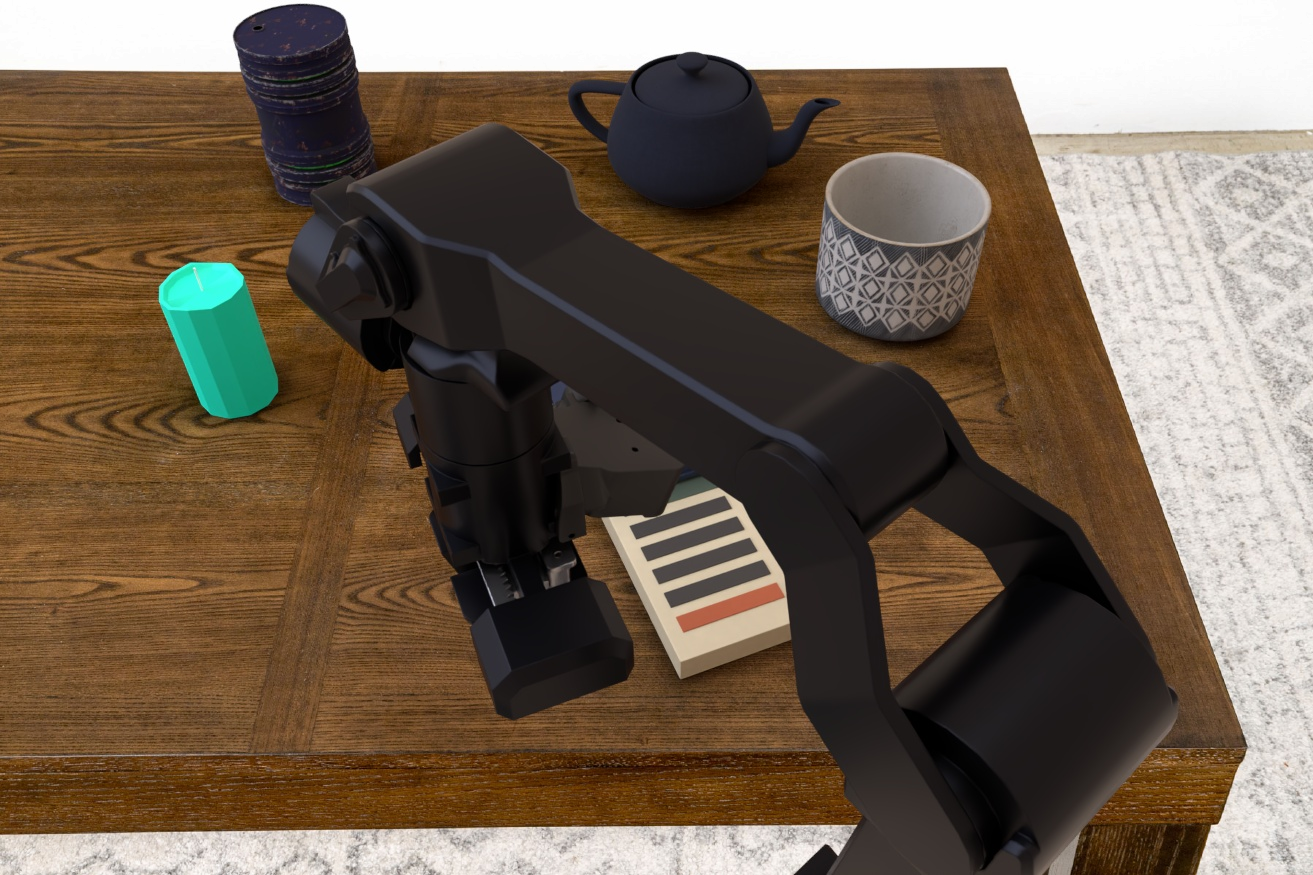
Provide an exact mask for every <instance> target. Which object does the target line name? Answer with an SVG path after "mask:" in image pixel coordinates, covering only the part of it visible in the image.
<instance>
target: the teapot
mask: <svg viewBox="0 0 1313 875" xmlns="http://www.w3.org/2000/svg"><path fill="white" fill-rule="evenodd" d="M591 93H592V94H603V95H612V96H618V97H619V99H618V101H617V102H616V105H615V108H614V110H613V112H612V116H611V119H610V122H609V128H607V127H606V126H605V125H603V124H602V123H601V122H600V121H599V120H597V119H596V117H594V116H593V114H592V113H591V112H590V111H589V109H588V108H587V106H586V104H585V102H584V98H583V96H582V95H583V94H591ZM764 99H765V98H764V96H763V93H762V92H761V90H760V88H759V86H758V83H757V81H756V80H755V77H754V76H753V74H751V72H750V71H749V70H747V68H745V67H744V66H742V65H741V64H740V63H738V62H736V61H734V60H731V59H728V58H726V57H722V56H718V55H715V54H714V55H713V54H707V53H702V52H698V51H685V52H682V53H675V54H668V55H664V56H660V57H657V58H654V59H652V60H649V61H648V62H646V63H643V64H642V65H640V66H639V67H638V68H637V69H635V71H634V72H633V73H632V74H631V75H630V77H629V78H628V80H627V82H625V81H624V82H623V81H617V80H616V81H615V80H604V79H581V80H578V81H576V82H574V83H572V85H571V86H570V87H569V89H568V93H567V100H568V101H567V102H568V105H569V108H570V111H571V112H572V114H573V116H574V117H575V120H577V121H578V123H579V124H580V125H581V126H582V127H583V128H584V129H585V130H586V131H587V132H589V133H590V134H591V135H592V136H593V137H595V138H597V139H598V140H599V141H601V142H603V143H604V144H606V151H607V157H608V161H609V163H610V165H611V168H612V170H613V171H614V173H615V175H617V176H618V178H619V179H620V180H621V181H622V182H623V183H624V184H625V185H626V186H628V187H629V188H630V189H632V190H633V191H634V192H636V193H638V194H640V195H641V196H643V197H644V198H646V199H647V200H650V201H652V202H654V203H656V204H658V205H661V206H662V205H663V206H666V207H672V208H677V209H695V210H696V209H705V208H711V207H716V206H719V205H723V204H725V203H728V202H730V201H733V200H734V199H736V198H737V197H739V196H740V195H742V194H744V193H746V192H748V191H749V190H750V189H752V188H753V187H754V186H756V184H758V183H759V182H760V181H761V180H762V179H763V178H764V176H765V175H766V174H767V172H768V170H769V169H773V168H777V167H780V166H783V165H784V164H786V163H788V162H789V161H790V160H792V158H794V157H795V155H796V154H797V153H798V152H799V150H800V148H801V146H802V144H803V142H804V140H805V138H806V137H807V136H806V135H807V133H808V131H809V129H810V127H811V125H812V123H813V121H814V120H815V118H816V117H817V116H818V115H819V114H821V113H822V112H824V111H826V110H828V109H831V108H835V107H838V106H840V105H841V104H842V102H841V100H839V99H835V98H830V97H815V98H811V99H809V100H808V101H806V102H805V103H804V104H803V105H802V106H801V107H800V108H799V110H798V112H797V113H796V115H795V118H794V120H793V122H792V123H791V124H790V126H788V127H787V128H785V129H780V130H774V125H773V120H772V117H771V115H770V112H769V108H768V106H767V104H766V101H765V100H764Z"/></svg>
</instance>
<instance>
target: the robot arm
mask: <svg viewBox="0 0 1313 875" xmlns="http://www.w3.org/2000/svg"><path fill="white" fill-rule="evenodd" d="M310 197H311V201H312V204H313V207H312V209H313V211H314V213H313V215H311V216H310V217H309V219H308V220H307V221H306V222H305V223H304V224H303V226H302V227H301V228H300V229H299V231H298V233H297V234H296V237H295V239H294V240H293V242H292V245H291V247H290V248H291V249H290V251H289V255H288V262H287V263H288V264H287V267H286V268H285V275H286V280H287V283H288V285H289V287H290V289H291V291H292V293H293V294H294V295H295V296H296V298H298V299H299V300H300V301H301V302H302V303H303V304H304V305H305V306H306V307H307V308H308V309H310V310H311V311H312V313H314V314H315V315H316V317H318V318H319V319H320V320H322V321H323V322H324V323H325V324H326V325H327V327H329V328H330V329H331V330H333V331H334V332H335V333H336V334H337V335H338V336H339V337H340V338H341V339H342V340H343V341H344V342H346V343H347V345H349V346H350V347H351V348H352V349H353V350H354V351H355V352H356V353H358V354H359V356H361V357H362V358H363V359H364V360H365V361H367V363H368V364H369V365H371V366H372V367H373V368H374V369H375V370H377V371H379V372H380V373H385V372H388V371H389V370H390V371H393V370H402V369H403V370H404V374H405V378H406V383H407V386H408V391H406V392H405V394H404V395H403V396H401V399H400V400H399V401H398V402H397V403H396V404H395V406H394V407H393V408H392V409H391V411H392V417H393V420H394V423H395V429H396V432H397V437H398V439H399V442H400V444H401V447H402V450H403V453H404V457H405V459H406V461H407V464H408V467H409V469H410V470H414V469H416V468H421V467H423V466H424V464H425V468H426V473H427V476H426V477H424V478H423V480H424V485H425V488H426V493H427V496H428V498H429V501H430V505H431V506H432V510H431V511H430V512H429V515H428V521H429V524H430V526H431V529H432V532H433V535H434V537H435V540H436V543H437V546H438V549H439V552H440V554H441V556H442V557H443V558H444V559H445V561H446V562H447V563H448V564H449V565H450V566H451V568H452V569H453V570H454V571H455V572H456V573H457V574H454V575H451V576H449V580H450V583H451V585H452V588H453V591H454V595H455V597H456V599H457V602H458V606H459V609H460V610H461V614H462V616H463V618H464V619H465V620H466V622H467V623H468V624H469V625H470V626H469V632H470V636H471V641H472V645H473V648H474V651H475V655H476V658H477V662H478V665H479V668H480V671H481V673H482V676H483V679H484V682H485V686H486V688H487V691H488V693H489V696H490V699H491V702H492V704H493V708H494V710H495V713H496V715H497V716H500V717H503V718H505V719H508V720H511V721H513V722H514V721H517V720H519V719H523V718H525V717H528V716H531V715H534V714H536V713H539V712H541V711H545V710H548V709H550V708H553V707H557V706H559V705H561V704H564V703H568V702H571V701H573V700H576V699H578V698H582V697H584V696H587V695H589V694H592V693H595V692H598V691H601V690H605V689H606V688H609V687H612V686H615V685H617V684H621V683H623V682H626V681H628V680H629V677H630V675H631V673H632V671H633V669H634V667H635V648H634V647H635V646H634V640H633V637H632V635H631V633H630V632H629V629H628V627H627V625H626V623H625V621H624V619H623V616H622V615H621V611H620V609H619V608H618V606H617V603H616V601H615V600H614V597H613V596H612V595H613V594H612V593H611V591H610V588H609V587H608V585H607V583H606V582H605V581H603V580H598V579H595V578H592V577H589V574H588V571H587V568H586V567H585V564H584V563H583V561H582V559H581V556H580V554H579V552H578V549H577V546H576V545H575V543H574V541H573V540H575V539H579V538H582V537H585V536H587V535H588V532H587V521H586V520H587V519H586V516H587V517H589V518H596V519H602V518H606V517H622V516H637V515H642V516H643V517H645V518H652V517H658V516H660V515H661V514H663V513H664V511H665V508H666V506H667V504H668V502H669V499H670V497H671V495H672V492H673V490H674V488H675V486H676V483H677V481H678V479H679V477H680V474H681V472H682V470H683V467H684V465H686V466H687V467H689V468H690V469H692V470H693V471H695V472H696V473H697V474H699V475H700V476H702V477H703V478H705V479H706V480H708V481H709V482H711V483H712V484H714V485H715V486H717V487H718V488H720V489H721V490H723V491H724V492H726V493H727V494H729V495H730V496H732V497H733V498H735V499H736V500H738V501H739V502H740V503H742V504H743V506H744V508H745V510H746V512H747V514H748V516H749V518H750V520H751V522H752V523H753V525H754V527H755V528H756V530H757V531H758V533H759V535H760V536H761V538H762V539H763V541H764V543H765V544H766V546H767V547H768V549H769V550H770V552H771V554H772V555H773V557H774V558H775V560H776V562H777V563H778V565H779V566H780V568H781V570H782V571H783V574H784V578H785V587H786V596H787V605H788V614H789V623H790V632H791V640H790V641H791V649H792V657H793V658H792V659H793V667H794V675H795V684H796V685H795V686H796V693H797V697H798V700H799V703H800V706H801V709H802V711H803V713H804V714H805V715H806V717H807V719H808V720H809V722H810V723H811V725H812V726H813V728H814V730H815V731H816V733H817V734H818V736H819V738H820V739H821V741H822V742H823V744H824V746H825V747H826V749H827V750H828V752H829V753H830V755H831V757H832V758H833V760H834V762H835V763H836V765H837V766H838V768H839V769H840V771H841V773H842V774H843V776H844V780H843V797H844V798H845V799H846V800H847V801H848V802H849V803H850V804H851V805H852V806H853V807H854V808H855V809H856V810H857V811H858V812H859V813H860V814H861V815H862V817H861V818H860V820H859V821H858V823H857V825H856V826H855V827H854V829H853V831H852V833H851V834H850V836H849V837H848V839H847V841H845V844H844V846H843V847H842V849H841V850H840V852H839V853H838V854H837V853H836V851H835V850H834V849H833V848H832V847H831V845H829V844H828V843H824V844H823V845H822V846H821V847H820V848H819V849H818V850H817V852H815V853H814V854H813V855H812V856H811V857H809V859H808V860H807V861H806V862H804V864H803V865H801V867H799V868H798V869H797V870H796V871H795V872H794V873H793V874H792V875H1043V874H1045V873H1046V872H1047V870H1048V869H1049V868H1050V867H1051V866H1052V865H1053V863H1054V862H1055V861H1056V860H1057V859H1058V858H1059V856H1061V855H1062V853H1063V852H1064V851H1065V850H1066V849H1067V848H1068V846H1070V845H1071V843H1072V842H1073V841H1074V840H1075V839H1076V837H1078V835H1080V833H1081V832H1082V831H1083V829H1084V828H1086V826H1087V825H1088V824H1089V823H1090V822H1091V821H1092V820H1093V818H1094V817H1095V816H1096V815H1097V814H1098V813H1099V811H1100V810H1102V809H1103V807H1104V806H1105V805H1106V804H1107V803H1108V802H1109V800H1110V799H1111V798H1112V797H1113V796H1114V795H1115V793H1116V792H1117V791H1118V790H1119V789H1121V787H1122V786H1123V785H1124V783H1125V782H1126V781H1127V780H1128V779H1129V778H1130V777H1131V775H1132V774H1134V772H1135V771H1136V770H1137V769H1138V768H1139V767H1140V766H1141V764H1143V762H1144V761H1145V760H1146V759H1147V758H1148V756H1149V755H1150V754H1151V753H1152V752H1153V751H1154V750H1155V749H1156V748H1157V746H1158V745H1160V743H1161V742H1162V741H1163V740H1164V738H1166V736H1168V734H1170V732H1171V731H1172V729H1173V727H1174V724H1175V723H1176V721H1177V719H1178V716H1179V703H1180V698H1179V695H1178V693H1177V691H1176V689H1175V688H1174V687H1173V686H1171V685H1168V684H1167V681H1166V679H1165V676H1164V673H1163V670H1162V669H1161V666H1160V665H1159V664H1158V657H1157V654H1156V652H1155V650H1154V648H1153V645H1152V643H1151V640H1150V638H1149V636H1148V634H1147V633H1146V631H1145V630H1144V628H1143V626H1142V625H1141V623H1140V622H1139V620H1138V618H1137V617H1136V615H1135V613H1134V612H1133V610H1132V608H1131V607H1130V605H1129V604H1128V602H1127V601H1126V598H1125V597H1124V595H1123V594H1122V592H1121V591H1120V589H1119V588H1118V586H1117V584H1116V583H1115V581H1114V579H1113V578H1112V575H1111V574H1110V572H1109V571H1108V569H1107V568H1106V566H1105V565H1104V562H1102V560H1101V558H1100V557H1099V555H1098V553H1097V551H1096V550H1095V549H1094V546H1093V544H1092V543H1091V541H1089V539H1088V537H1087V535H1086V533H1085V532H1084V530H1083V529H1082V527H1081V525H1080V524H1079V523H1078V522H1077V521H1076V520H1075V519H1074V518H1073V517H1072V516H1071V515H1070V514H1069V513H1067V512H1065V511H1064V510H1062V509H1061V508H1059V507H1057V506H1056V505H1055V504H1053V503H1051V502H1050V501H1048V500H1046V499H1045V498H1043V497H1042V496H1040V495H1039V494H1037V493H1036V492H1034V491H1033V490H1031V489H1029V488H1028V487H1026V486H1025V485H1023V484H1021V483H1020V482H1019V481H1017V480H1016V479H1014V478H1012V477H1011V476H1009V475H1007V474H1006V473H1004V472H1003V471H1001V470H1000V469H998V468H997V467H995V466H994V465H992V464H990V463H989V462H987V461H985V460H984V459H982V457H980V455H979V454H978V452H977V451H976V449H975V447H974V445H973V444H972V443H971V441H970V439H969V438H968V436H967V435H966V432H965V431H964V430H963V428H962V427H961V425H960V424H959V421H958V420H957V418H956V417H955V416H954V413H953V412H952V410H951V409H950V407H949V406H948V404H947V402H946V401H945V399H944V398H943V397H942V396H941V395H940V394H939V392H938V391H937V389H935V387H934V386H933V385H932V383H930V381H929V380H927V379H926V378H925V377H924V376H922V375H921V374H919V373H918V372H917V371H915V370H914V369H912V368H911V367H909V366H906V365H904V364H900V363H897V362H894V361H891V360H886V361H879V362H872V363H870V364H868V363H866V362H862V361H858V360H856V359H854V358H852V357H850V356H848V355H846V354H844V353H842V352H840V351H838V350H837V349H835V348H832V347H831V346H829V345H827V344H825V343H824V342H821V341H820V340H817V339H816V338H814V337H812V336H810V335H808V334H806V333H804V332H803V331H801V330H799V329H798V328H795V327H793V326H791V325H789V324H787V323H786V322H784V321H782V320H780V319H779V318H777V317H774V316H772V315H770V314H768V313H766V312H765V311H762V310H760V309H758V308H757V307H756V306H753V305H751V304H749V303H748V302H745V301H744V300H742V299H740V298H738V297H736V296H734V295H732V294H730V293H729V292H727V291H724V290H723V289H721V288H719V287H717V286H715V285H713V284H712V283H709V282H708V281H705V280H704V279H702V278H700V277H698V276H696V275H694V274H692V273H690V272H689V271H687V270H684V269H683V268H681V267H679V266H677V265H676V264H673V263H671V262H670V261H668V260H666V259H664V258H662V257H660V256H658V255H657V254H655V253H652V252H651V251H649V250H647V249H645V248H644V247H641V246H639V245H637V244H636V243H633V242H632V241H630V240H628V239H626V238H625V237H622V236H620V235H618V234H616V233H615V232H613V231H611V230H609V229H607V228H606V227H604V226H603V225H601V224H600V223H598V222H597V221H596V220H594V219H593V218H592V217H590V216H589V215H587V213H585V212H584V211H583V210H582V207H581V205H580V201H579V197H578V193H577V190H576V187H575V183H574V179H573V176H572V173H571V171H570V170H569V169H568V168H567V167H566V166H565V165H563V164H562V163H561V162H559V161H557V159H555V158H554V157H553V156H551V155H549V154H548V153H546V152H545V151H543V150H542V148H539V147H538V146H537V145H536V144H534V143H532V142H531V141H530V140H528V139H527V138H526V137H524V136H523V135H522V134H520V133H519V132H517V131H516V130H514V129H512V128H510V127H509V126H507V125H505V124H501V123H498V122H493V121H490V122H486V123H483V124H480V125H479V126H476V127H474V128H472V129H469V130H467V131H465V132H463V133H461V134H458V135H456V136H453V137H452V138H450V139H448V140H445V141H443V142H440V143H438V144H436V145H434V146H432V147H429V148H427V149H425V150H422V151H420V152H418V153H416V154H413V155H411V156H409V157H407V158H405V159H403V160H401V161H398V162H396V163H394V164H391V165H389V166H387V167H384V168H383V169H380V170H378V172H376V173H373V174H371V175H369V176H367V177H364V178H362V179H360V180H358V181H356V180H355V179H354V178H352V177H351V176H350V175H348V176H346V177H344V178H341V179H339V180H337V181H335V182H332V183H330V184H328V185H326V186H323V187H321V188H319V189H317V190H314V191H312V192H311V193H310ZM559 381H561V382H563V383H564V384H566V385H567V386H566V387H565V389H564V392H563V395H562V398H561V400H559V401H557V402H555V403H554V404H553V402H552V393H551V386H553V385H554V384H556V383H558V382H559ZM422 459H423V461H422ZM423 462H424V463H423ZM911 508H912V509H914V510H916V512H919V514H922V515H923V516H925V517H927V518H928V519H929V520H932V521H933V522H935V523H936V524H938V525H940V526H941V527H943V528H944V529H946V530H948V531H949V532H951V533H953V534H954V535H956V536H958V537H959V538H961V539H963V540H964V541H966V542H967V543H969V544H970V545H972V546H974V547H975V548H977V549H978V550H980V552H982V554H983V555H984V557H985V558H986V560H987V562H988V563H989V565H990V567H991V568H992V570H993V571H994V573H995V575H996V577H997V578H998V579H999V581H1000V582H1001V585H1002V586H1003V587H1004V588H1003V589H1002V590H1000V592H998V594H996V595H995V596H994V597H993V598H992V599H990V600H989V601H988V603H986V604H985V605H984V606H983V607H982V608H981V609H979V611H977V612H976V613H975V614H974V615H973V616H972V617H971V618H970V619H969V620H967V621H966V622H965V623H964V624H963V625H962V626H961V627H960V628H958V629H957V630H956V631H955V632H954V633H953V634H952V635H951V636H950V637H948V639H946V641H944V642H943V643H942V644H941V645H939V647H937V648H936V649H935V650H934V651H933V652H932V653H931V654H930V655H929V656H928V657H926V658H925V659H924V660H923V661H922V662H921V663H920V664H919V665H917V667H915V668H914V669H913V670H912V671H910V673H908V675H906V676H905V677H904V678H903V679H902V680H900V682H898V684H896V685H895V686H894V687H893V688H892V685H891V678H890V671H889V663H888V662H889V661H888V655H887V647H886V639H885V632H884V623H883V615H882V606H881V600H880V592H879V584H878V576H877V568H876V561H875V557H874V555H873V551H872V549H871V545H870V543H869V542H870V541H872V540H873V539H874V538H875V537H876V536H878V535H879V534H880V533H881V532H883V531H884V530H885V529H886V528H888V527H889V526H890V525H891V524H893V523H894V522H896V520H898V519H899V518H900V517H901V516H903V515H904V514H906V512H907V511H909V510H910V509H911Z"/></svg>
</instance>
